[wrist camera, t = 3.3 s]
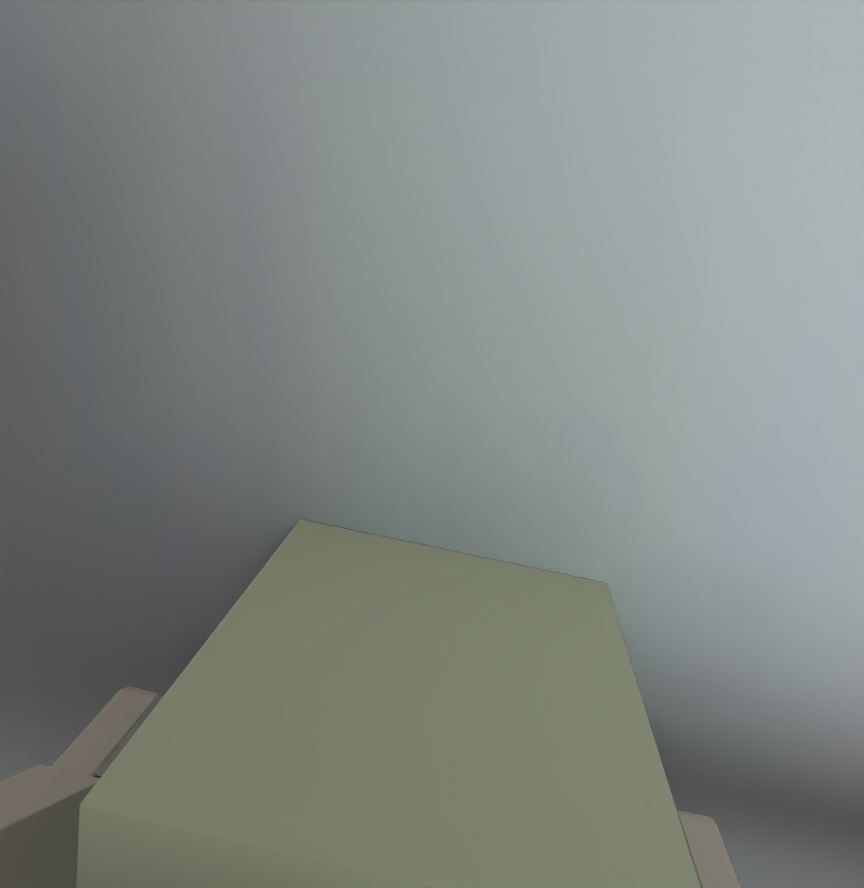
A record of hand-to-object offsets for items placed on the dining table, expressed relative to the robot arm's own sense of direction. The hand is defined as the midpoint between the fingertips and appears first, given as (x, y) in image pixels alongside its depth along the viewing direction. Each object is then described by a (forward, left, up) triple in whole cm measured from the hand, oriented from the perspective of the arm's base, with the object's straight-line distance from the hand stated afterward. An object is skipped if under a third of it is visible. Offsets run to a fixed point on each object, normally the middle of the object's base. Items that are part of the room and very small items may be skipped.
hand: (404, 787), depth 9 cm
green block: (0, 0, -2) cm, 2 cm away
